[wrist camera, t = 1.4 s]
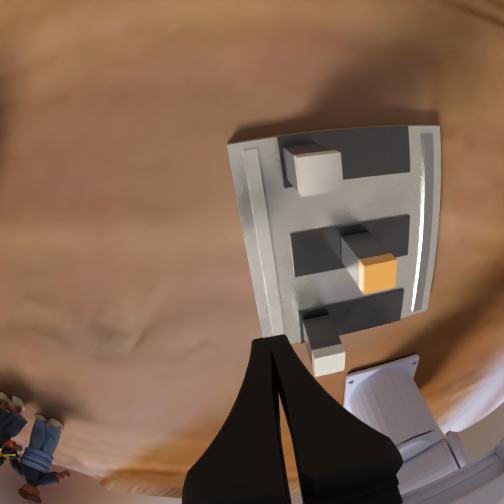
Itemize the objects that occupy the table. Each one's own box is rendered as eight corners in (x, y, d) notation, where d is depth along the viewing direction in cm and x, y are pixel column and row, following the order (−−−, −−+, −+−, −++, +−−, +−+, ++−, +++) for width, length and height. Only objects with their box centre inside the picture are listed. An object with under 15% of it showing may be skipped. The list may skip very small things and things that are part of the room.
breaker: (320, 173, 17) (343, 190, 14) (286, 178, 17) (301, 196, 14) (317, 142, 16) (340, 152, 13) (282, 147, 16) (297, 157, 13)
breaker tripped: (369, 256, 20) (394, 287, 16) (341, 261, 20) (363, 294, 16) (369, 231, 19) (397, 259, 15) (340, 236, 19) (364, 266, 15)
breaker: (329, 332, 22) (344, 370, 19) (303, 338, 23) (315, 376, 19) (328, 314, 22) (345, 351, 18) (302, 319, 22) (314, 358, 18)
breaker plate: (420, 302, 24) (427, 311, 23) (263, 338, 24) (265, 350, 23) (429, 124, 17) (441, 126, 16) (227, 143, 18) (226, 145, 16)
